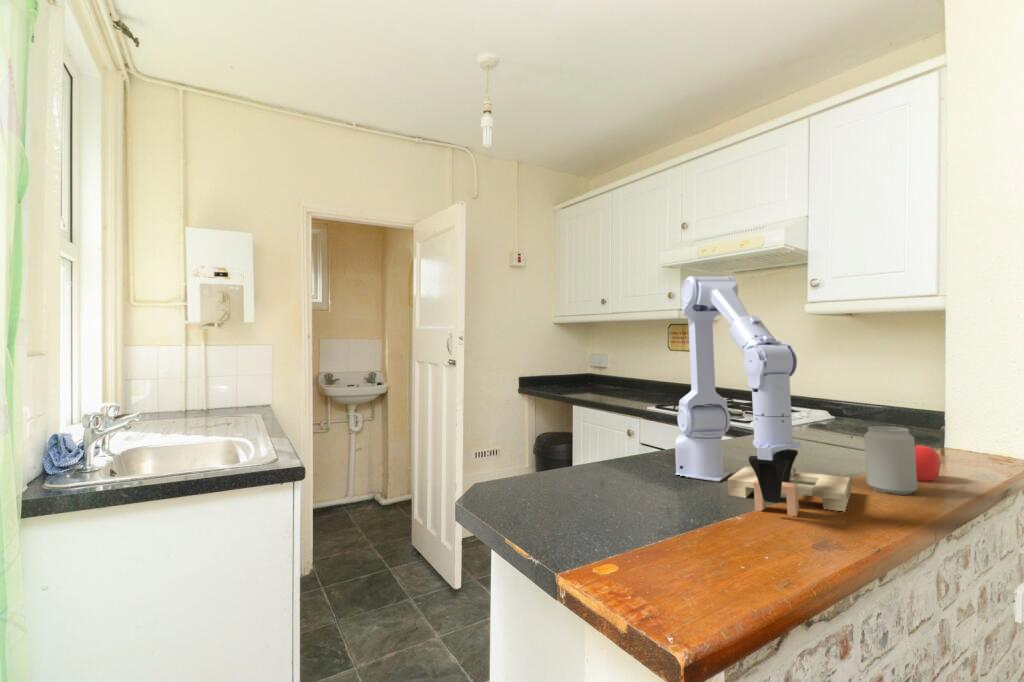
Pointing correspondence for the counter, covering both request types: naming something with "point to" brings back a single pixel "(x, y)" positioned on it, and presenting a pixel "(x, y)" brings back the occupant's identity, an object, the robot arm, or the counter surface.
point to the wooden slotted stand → (799, 486)
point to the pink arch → (787, 489)
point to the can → (890, 460)
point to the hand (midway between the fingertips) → (776, 496)
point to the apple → (926, 463)
